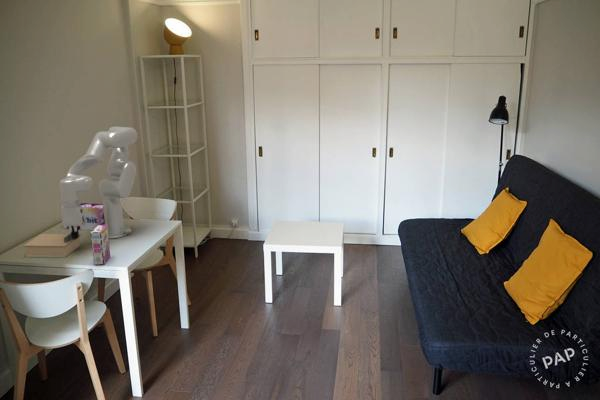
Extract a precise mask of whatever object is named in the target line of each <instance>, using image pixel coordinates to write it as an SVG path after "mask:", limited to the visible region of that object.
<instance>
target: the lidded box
mask: <svg viewBox="0 0 600 400" xmlns="http://www.w3.org/2000/svg"><path fill="white" fill-rule="evenodd" d="M81 246H82V242H81V236H79V237H78V238H77V239H75V240H74V241H73V242H72V243H70V244H69V245H68V246H66V247H24V250H25V256H26V257H27V258H28V257H29V258H33V257H35V258H40V257H42V258H66V257H68V256H70V254H71V253H73V252H74V251H76V250H77V249H78V248H79V247H81Z"/></svg>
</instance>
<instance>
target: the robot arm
mask: <svg viewBox="0 0 600 400" xmlns="http://www.w3.org/2000/svg"><path fill="white" fill-rule="evenodd" d="M137 140H138V132H137V130H136V129H135V128H133V127H127V126H125V127H124V126H111V127H110V128H108V131H98V132H97V133H96V134H95V135H94V137H93V139H92V141H91V143H90V145H89V146H88V149H87V150H86V152H85V154H84V155H83V156H82V157H80V158H79V159H78V160H77V161H75V162H74V163H73V164H72V165H71V166H70V168H69V170H68V172H67V173H66V176H65V178H63V179H61V180H59V188H60V195H61V203H62V205H63V206H62V205H61V211H60V212H61V217H60V218H61V224H62V228H64V229H67V230H69V232H70V233H71V235H72V239H77V238H78V237H79V234H80V233H79V231H80V230H81V229H80V228H84V227H85V224H84V223H85V216H84V212H83V209H82V206H81V205H80V204H82V203H83V202H82V200H81V201H80V198H79V192H86V191H89V190H91V189H92V188H93V187H94V180H93V179H92V178H91V177H90V176H88V175H83V173H84V172H85V171H87V170H88V169H90V168H92V167H95V166H98V165H99V164H101V163H103V159H104V157H105V156H106V154H107V152H108V150H109V149H112V153H111V157H110V159H109V162H108V166H107V169H106V170H107V171H106V172H107V174H108V175H109V176H110V177H112V178H103V179H102V180H101V181H100V182H99V183H98V193H99V195H100V199H101V204H103V212H104V221H105V225H107V229H108V239H119V238H123V237H125V236H127V234H128V233H131V232H132V229H131V227H126V224H125V225H124V217H123V216H124V215H123V207H122V206H123V205H122V201H121V199H126V198H128V197H129V195H130V194H131V192H132V189H133V185H134V184H135V183H134V182H135V179H136V175H137V166H136V164H135V163H134V162H132V161H129V160H128V159H129V154H130V150H129V145H132V144H134V143H135V142H136V141H137ZM115 178H116V179H115ZM117 178H119V179H117Z"/></svg>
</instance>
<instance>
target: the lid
mask: <svg viewBox="0 0 600 400" xmlns="http://www.w3.org/2000/svg"><path fill="white" fill-rule="evenodd" d="M79 236H80V237H81V234H80V233H79ZM74 240H75V239H72V235H71V232H70V233H66V234H65V233H40V234H38V236H36V237H35V238H33V239H32V240H30V241H28V242H27V243H26V244H24V245H23V247H24V248H25V247H66V246H68V245H69V244H70V243H72V242H73V241H74Z"/></svg>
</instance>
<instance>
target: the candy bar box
mask: <svg viewBox="0 0 600 400" xmlns="http://www.w3.org/2000/svg"><path fill="white" fill-rule="evenodd" d="M90 238H91V249H92V257H93V265H94V266H98V265H97V264H104V263H105V262H106V263H107V261H108V260H109V258H110V257H111V251H110V241H109V239H110V238H108V229H107V225H98V226H97V227H96V228H95V229H94V230H91V231H90ZM107 259H108V260H107ZM106 263H105V264H106ZM105 264H104V265H105Z"/></svg>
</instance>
